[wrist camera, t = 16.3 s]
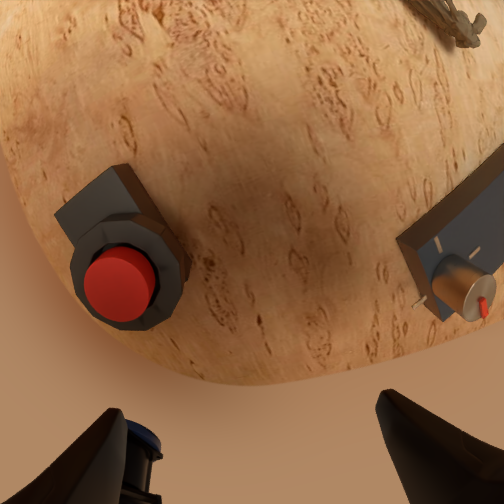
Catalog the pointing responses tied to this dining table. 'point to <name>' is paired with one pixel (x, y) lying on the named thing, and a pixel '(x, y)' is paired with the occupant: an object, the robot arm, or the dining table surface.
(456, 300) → the dial
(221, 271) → the dining table surface
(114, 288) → the power button
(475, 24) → the skeletal hand
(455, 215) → the panel
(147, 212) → the power button base
